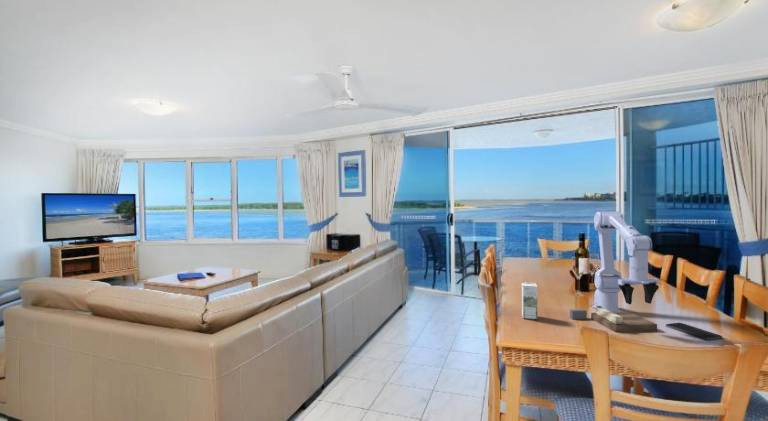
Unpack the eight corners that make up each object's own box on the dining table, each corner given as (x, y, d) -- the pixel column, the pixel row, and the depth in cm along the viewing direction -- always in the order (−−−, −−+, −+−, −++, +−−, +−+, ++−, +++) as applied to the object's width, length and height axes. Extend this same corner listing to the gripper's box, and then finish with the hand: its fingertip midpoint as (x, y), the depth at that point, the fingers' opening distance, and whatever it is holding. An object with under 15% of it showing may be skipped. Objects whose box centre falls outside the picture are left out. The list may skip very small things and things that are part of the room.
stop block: (569, 317, 151) (569, 309, 151) (583, 317, 151) (583, 309, 151) (572, 319, 149) (572, 311, 149) (586, 318, 149) (586, 310, 149)
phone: (707, 338, 125) (664, 324, 139) (707, 341, 125) (664, 327, 139) (724, 336, 127) (680, 322, 141) (724, 339, 127) (680, 325, 141)
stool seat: (591, 318, 149) (591, 312, 149) (628, 317, 150) (628, 311, 150) (615, 332, 134) (615, 325, 134) (657, 330, 135) (657, 324, 135)
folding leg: (594, 312, 148) (594, 305, 148) (600, 312, 148) (600, 305, 148) (616, 324, 135) (616, 316, 135) (622, 323, 135) (622, 315, 135)
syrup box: (535, 315, 154) (535, 282, 154) (537, 320, 149) (537, 285, 148) (521, 314, 156) (521, 281, 156) (523, 319, 150) (522, 284, 150)
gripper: (627, 270, 131) (627, 307, 132) (665, 269, 132) (665, 305, 132) (614, 266, 138) (614, 301, 139) (650, 265, 139) (650, 300, 139)
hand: (638, 303), depth 136 cm, fingers open, 7 cm apart
